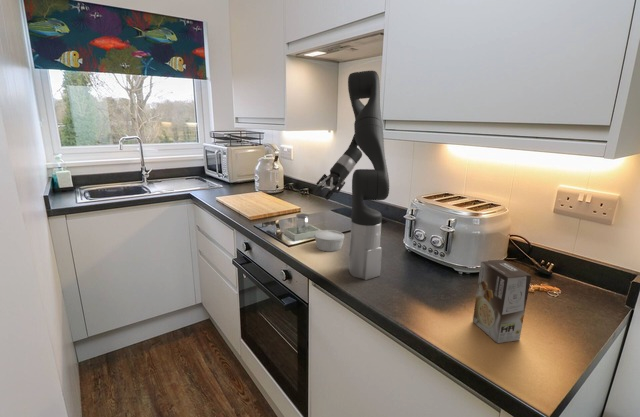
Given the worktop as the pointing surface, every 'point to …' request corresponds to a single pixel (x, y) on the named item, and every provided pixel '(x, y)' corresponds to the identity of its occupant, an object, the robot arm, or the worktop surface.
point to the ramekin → (329, 240)
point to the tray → (294, 236)
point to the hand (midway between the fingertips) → (320, 196)
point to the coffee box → (501, 300)
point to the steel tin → (302, 223)
